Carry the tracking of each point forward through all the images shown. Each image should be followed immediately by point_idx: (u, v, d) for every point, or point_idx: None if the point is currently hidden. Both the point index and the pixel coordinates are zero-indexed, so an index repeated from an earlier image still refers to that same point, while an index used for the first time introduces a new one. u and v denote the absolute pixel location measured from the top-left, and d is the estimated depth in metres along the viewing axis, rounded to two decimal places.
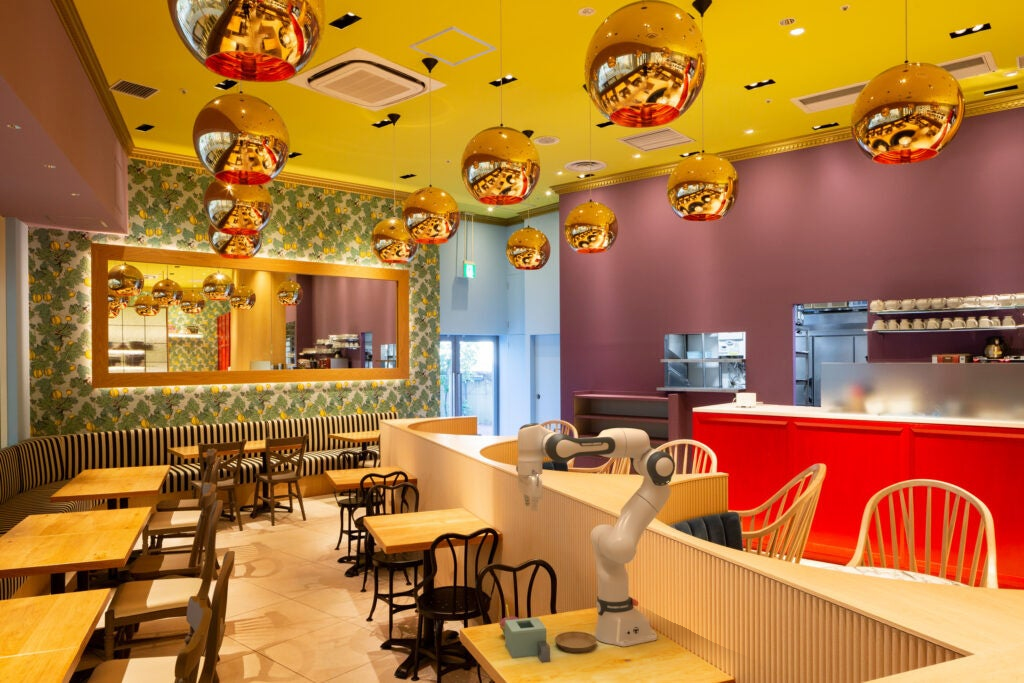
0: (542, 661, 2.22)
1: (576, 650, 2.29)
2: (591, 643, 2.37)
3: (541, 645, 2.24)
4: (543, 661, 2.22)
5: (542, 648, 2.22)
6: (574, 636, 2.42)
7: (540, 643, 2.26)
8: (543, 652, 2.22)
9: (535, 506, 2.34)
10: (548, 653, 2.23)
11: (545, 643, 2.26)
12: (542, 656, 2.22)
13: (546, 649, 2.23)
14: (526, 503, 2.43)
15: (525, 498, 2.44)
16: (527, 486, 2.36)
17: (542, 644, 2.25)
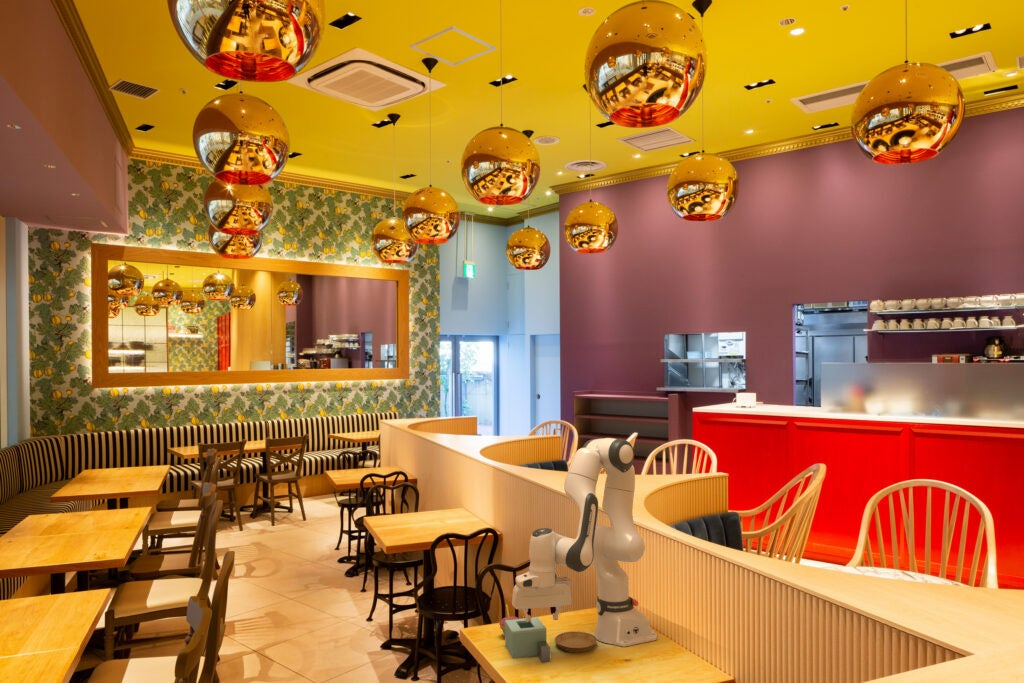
0: (542, 661, 2.22)
1: (576, 650, 2.29)
2: (591, 643, 2.37)
3: (541, 645, 2.24)
4: (543, 661, 2.22)
5: (542, 648, 2.22)
6: (574, 636, 2.42)
7: (540, 643, 2.26)
8: (543, 652, 2.22)
9: None
10: (548, 653, 2.23)
11: (545, 643, 2.26)
12: (542, 656, 2.22)
13: (546, 649, 2.23)
14: None
15: (527, 614, 2.24)
16: (551, 596, 2.25)
17: (542, 644, 2.25)
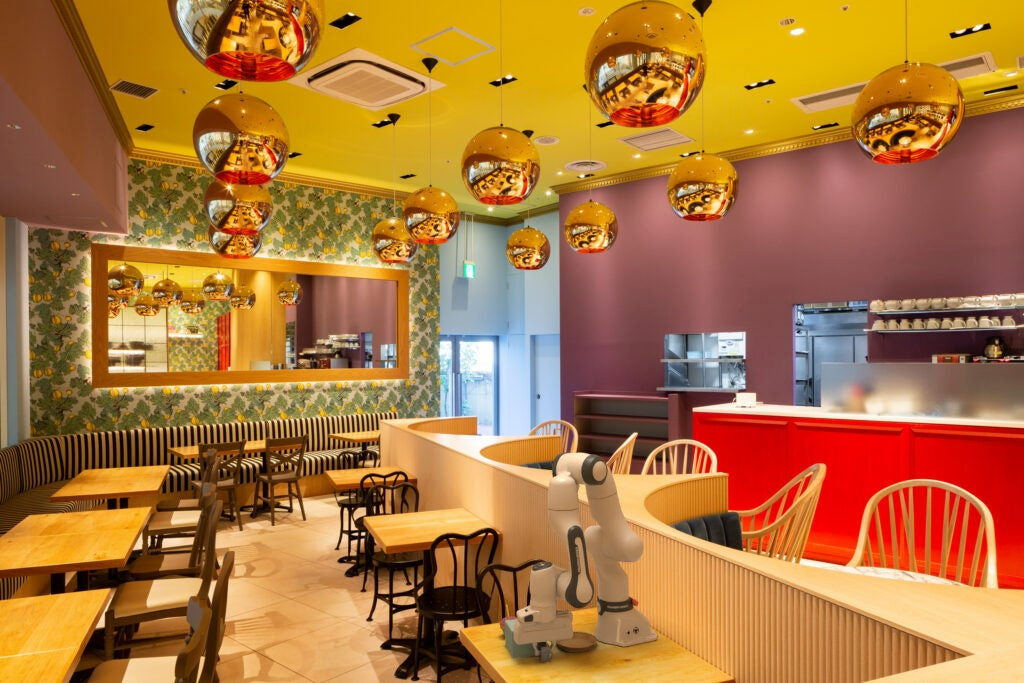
0: (542, 661, 2.22)
1: (576, 650, 2.29)
2: (591, 643, 2.37)
3: (541, 645, 2.24)
4: (543, 661, 2.22)
5: (542, 648, 2.22)
6: (575, 636, 2.42)
7: (540, 643, 2.26)
8: (543, 652, 2.22)
9: None
10: (548, 653, 2.23)
11: (545, 643, 2.26)
12: (542, 656, 2.22)
13: (546, 649, 2.23)
14: None
15: (536, 648, 2.24)
16: (553, 630, 2.24)
17: (542, 643, 2.25)
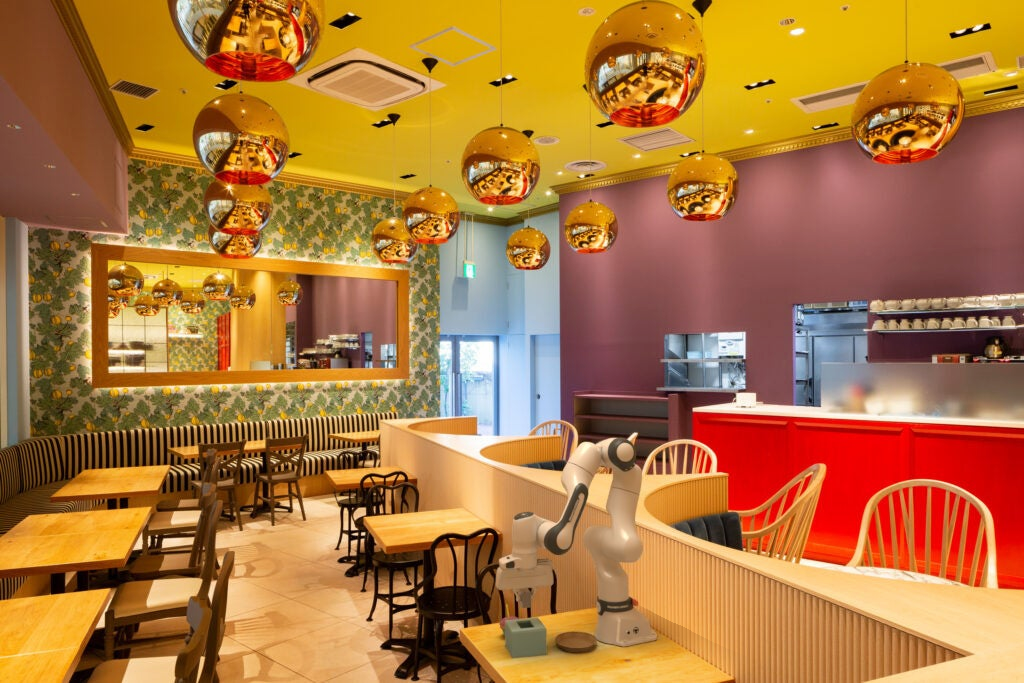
0: (523, 606, 2.31)
1: (576, 650, 2.29)
2: (591, 643, 2.37)
3: (522, 591, 2.33)
4: (524, 606, 2.31)
5: (523, 593, 2.31)
6: (575, 636, 2.42)
7: (521, 590, 2.34)
8: (524, 597, 2.31)
9: None
10: (529, 598, 2.31)
11: (526, 590, 2.34)
12: (523, 601, 2.31)
13: (527, 594, 2.31)
14: None
15: (517, 594, 2.32)
16: (533, 577, 2.33)
17: (523, 590, 2.34)
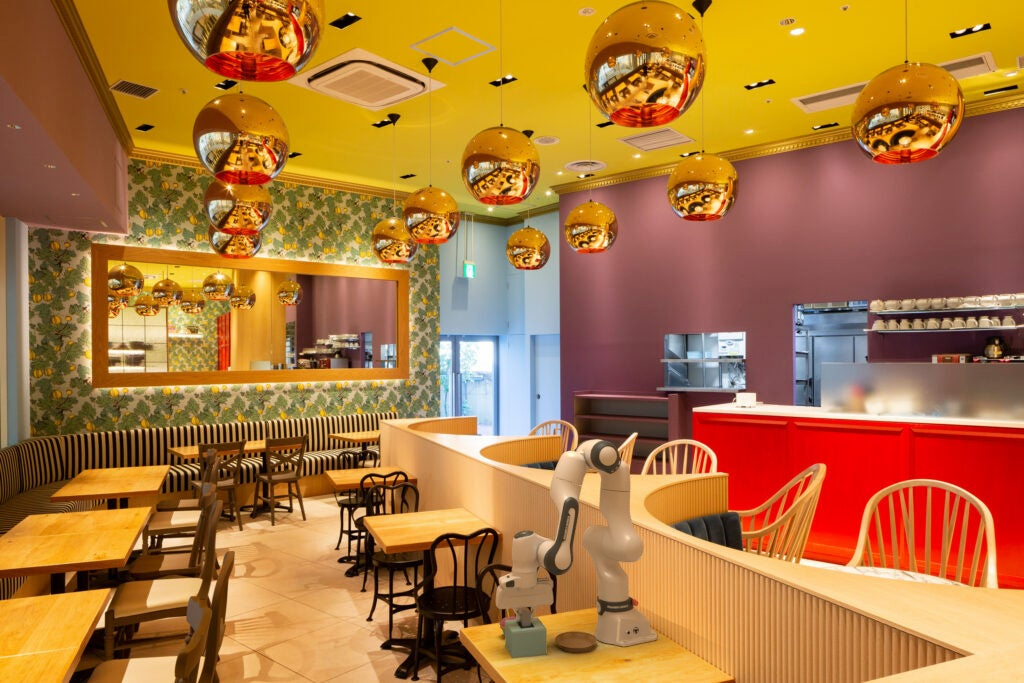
0: (523, 625, 2.30)
1: (576, 650, 2.29)
2: (591, 643, 2.37)
3: (522, 610, 2.32)
4: (524, 625, 2.30)
5: (523, 613, 2.31)
6: (575, 636, 2.42)
7: (521, 609, 2.34)
8: (524, 617, 2.31)
9: None
10: (529, 618, 2.31)
11: (526, 609, 2.34)
12: (523, 620, 2.30)
13: (527, 614, 2.31)
14: None
15: (517, 613, 2.32)
16: (533, 596, 2.33)
17: (523, 609, 2.34)
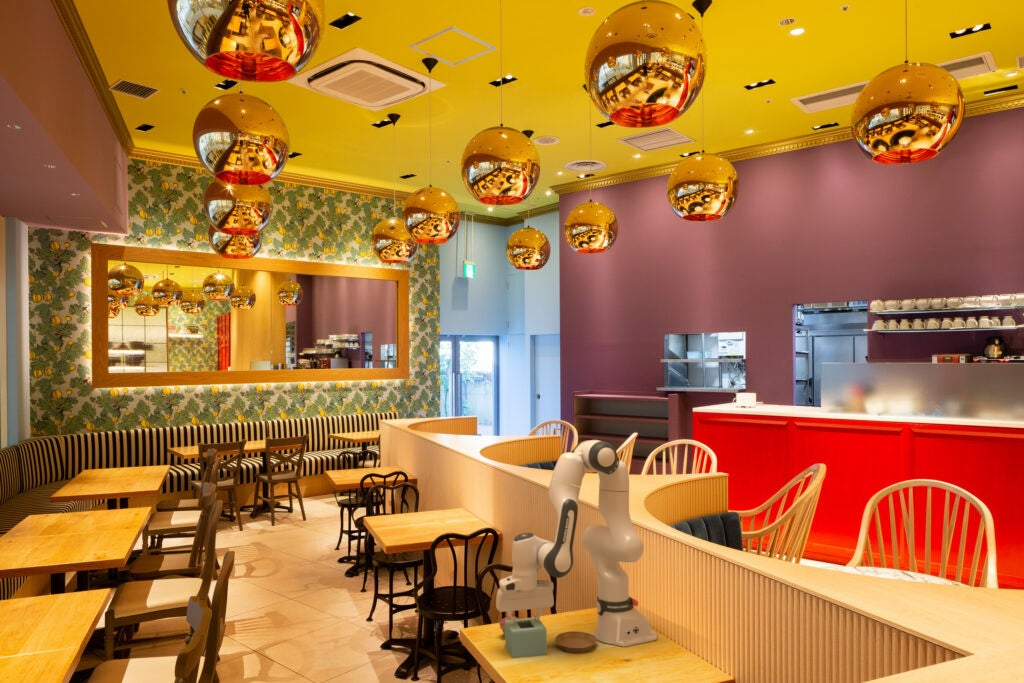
0: None
1: (576, 650, 2.29)
2: (591, 643, 2.37)
3: None
4: None
5: None
6: (575, 636, 2.42)
7: None
8: None
9: None
10: None
11: None
12: None
13: None
14: None
15: (512, 616, 2.32)
16: (534, 598, 2.33)
17: None
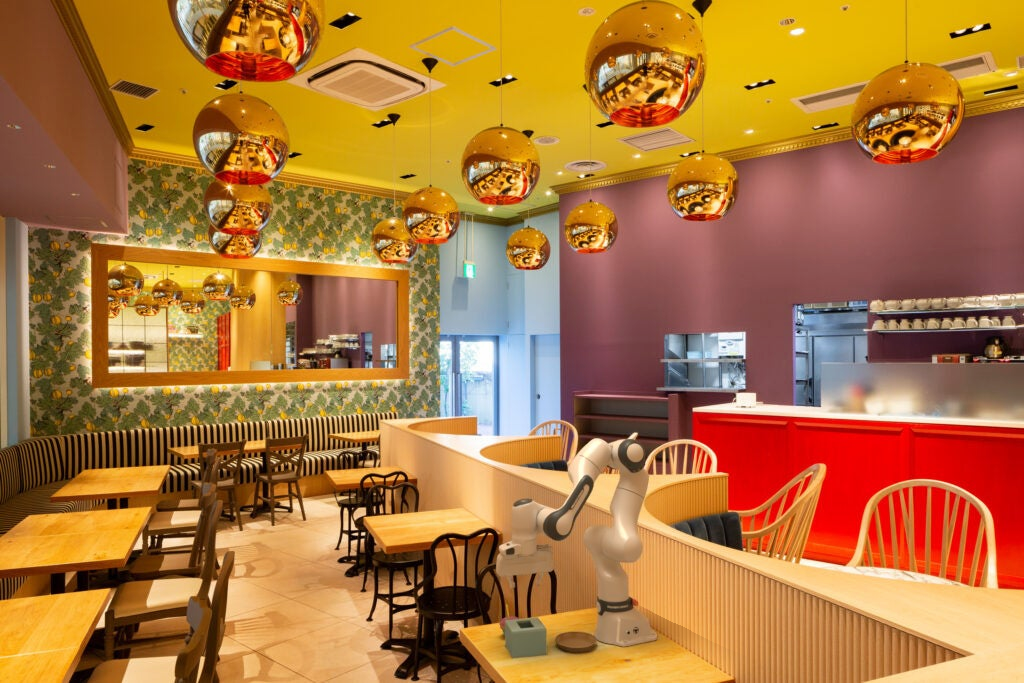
0: None
1: (576, 650, 2.29)
2: (591, 643, 2.37)
3: None
4: None
5: None
6: (575, 636, 2.42)
7: None
8: None
9: None
10: None
11: None
12: None
13: None
14: None
15: None
16: (533, 563, 2.34)
17: None
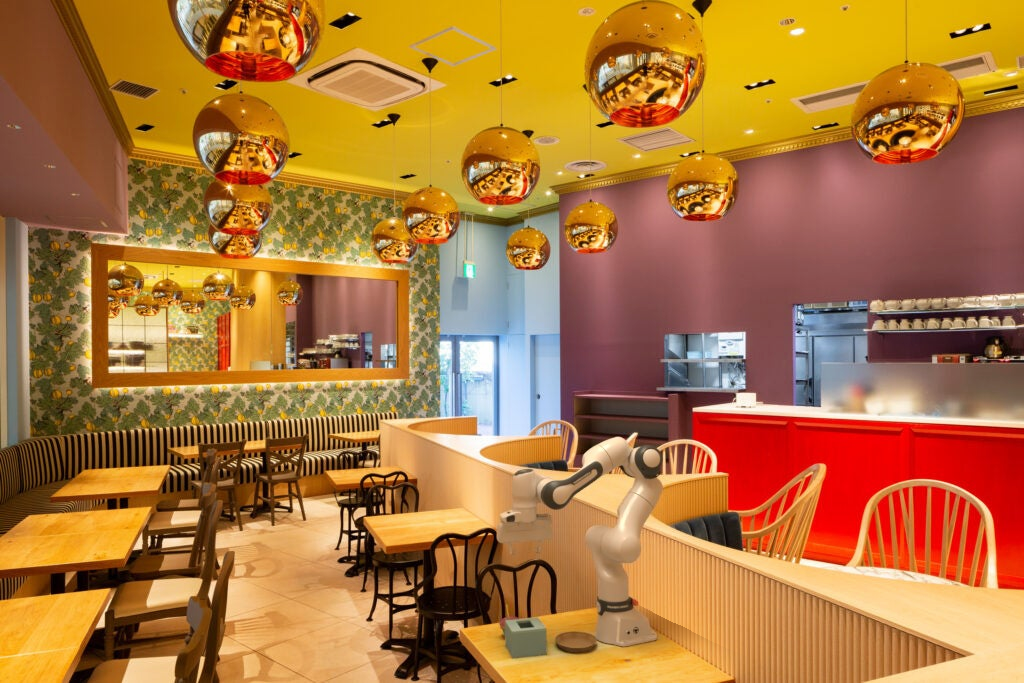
0: None
1: (576, 650, 2.29)
2: (591, 643, 2.37)
3: None
4: None
5: None
6: (575, 636, 2.42)
7: None
8: None
9: None
10: None
11: None
12: None
13: None
14: None
15: None
16: (533, 531, 2.41)
17: None
